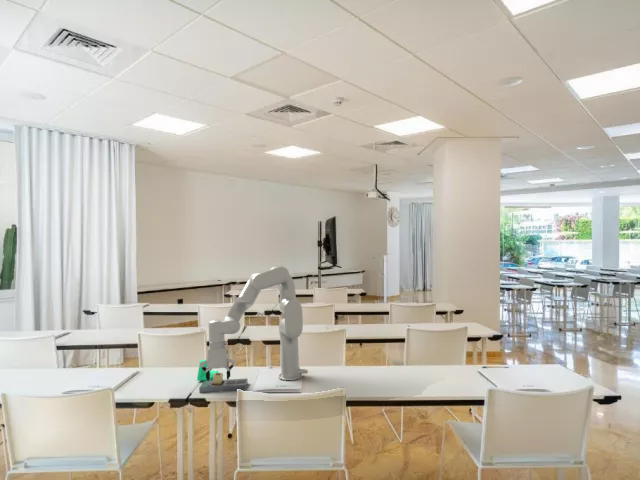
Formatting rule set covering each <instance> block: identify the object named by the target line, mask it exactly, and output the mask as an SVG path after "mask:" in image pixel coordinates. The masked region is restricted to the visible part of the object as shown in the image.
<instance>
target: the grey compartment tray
mask: <svg viewBox="0 0 640 480" xmlns="http://www.w3.org/2000/svg"><path fill="white" fill-rule="evenodd" d="M248 382H249V381H248V378H246V377H245V378H232V379H230V378H229V379H223V385H213V380H209V381H207V380H203V381H202V383H201V384H200V386H199V390H198V391H199V392H198V393H199V394H202V393H203V394H205V393H220V392H232V391H233V392H234V391H236V390H237V389H241V390H240V391H246V389H247V386H248Z"/></svg>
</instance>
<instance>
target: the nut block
mask: <svg viewBox="0 0 640 480" xmlns="http://www.w3.org/2000/svg"><path fill="white" fill-rule="evenodd" d="M223 380H224V375H223V372H218V373H214V375H213V385H223Z"/></svg>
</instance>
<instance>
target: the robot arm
mask: <svg viewBox="0 0 640 480" xmlns="http://www.w3.org/2000/svg"><path fill="white" fill-rule="evenodd" d="M292 277H293V276H291V273H290V272H289V269H288V268H286V266H282V265H274V266H272V267H271V268H270V269H269V270H266V271H263V272H253V273H252V274H251V275H250V277H249V278H248V280H247V282H246V283H245V285H244V287H243V289H242V290H241V292H240V294H239V295H238V297H237V299H236V300H235V301H234V303H233V304H232V305H231V307H230V309H229V310H228V312H227V313H226V316H225V318H224V319H212V320H210V321H209V322H208V343H209V344H208V345H209V346H208V348H207V355H206V356H207V357H206V359H204V360H205V361H204V362H202V363H201V364H200V363H199V365H200V366H201V367H202V369H203V370H204V371H205V373H206V379H207V380H206V381H210V380H209V379H210V371H211V370H213V369H226V370H227V371H226V380H229V379H230V377H231V370H232V369H233V368H234V365H235V364H236V360H234V359H232V358H230V357H229V351H228V346H227V345H228V341H226V337H225V335H234V334H237V333H238V332H239V331H240V330H241V324H240V321H241V319H242V317H243V315H244V314H245V312H246V311H247V310H249V309H250V308H251V307H253V306H254V304H255V302H256V300H257V298H258V297H259V294H260V293H261V291H262V290H265V289H268V288H272V287H274V286H278V289H279V290H278V291H279V309H280V311H281V314H283V315H284V317H283V318H282V319H281V320H280V322H279V324H278V332H279V333H278V334H279V339H280V340H279V341H280V342H279V343H280V365H281V367H280V368H281V369H280V370H281V372H280V374H279V375H278V379H279V380H281V379H282V380H281V381H286V380H291V381H296V380H300V379H302V377H303V374H308V373H309V372H308V371H309V370H308V369H305V368H301V366H300V358H299V356H300V355H299V353H300V352H299V337H301V335H302V333H303V327H304V324H303V321H304V319H303V307H302V304H301V303H300V300H298V299H297V297H296V286H295V282H294V279H293V278H292ZM206 363H207V368H206V367H205V366H204V364H206ZM229 363H231V365H229ZM210 369H211V370H210Z"/></svg>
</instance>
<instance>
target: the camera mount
mask: <svg viewBox="0 0 640 480" xmlns="http://www.w3.org/2000/svg"><path fill="white" fill-rule="evenodd" d="M205 360H206V359H200V361H199V365H198V366H199V367H198V370H197V371H198V372H197V377H196V381H207V379H206V373H205V371H204V370H203V369H202V367H201V366H200V364H201V363H202V362H204V361H205ZM204 366H205V367H206V368H208V367H207V363H206V364H204ZM209 371H210V379H209V381H212V380H213V375H214V373H219V370H209Z"/></svg>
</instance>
